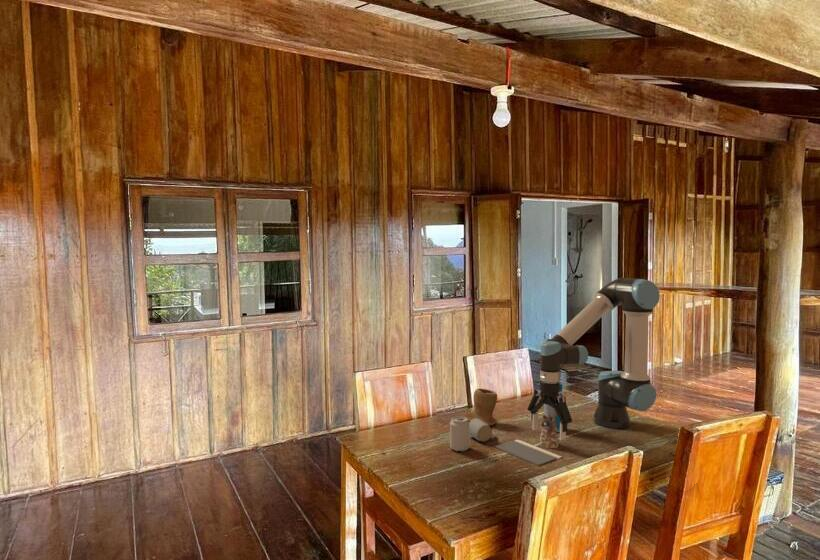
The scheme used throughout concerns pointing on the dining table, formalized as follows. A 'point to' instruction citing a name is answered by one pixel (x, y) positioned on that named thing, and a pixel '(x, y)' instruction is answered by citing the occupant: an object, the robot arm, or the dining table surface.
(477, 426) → the ceramic mug
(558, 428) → the beverage bottle
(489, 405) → the brown boot planter
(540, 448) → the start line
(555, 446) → the figurine
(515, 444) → the mat
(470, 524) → the dining table surface
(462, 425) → the can
